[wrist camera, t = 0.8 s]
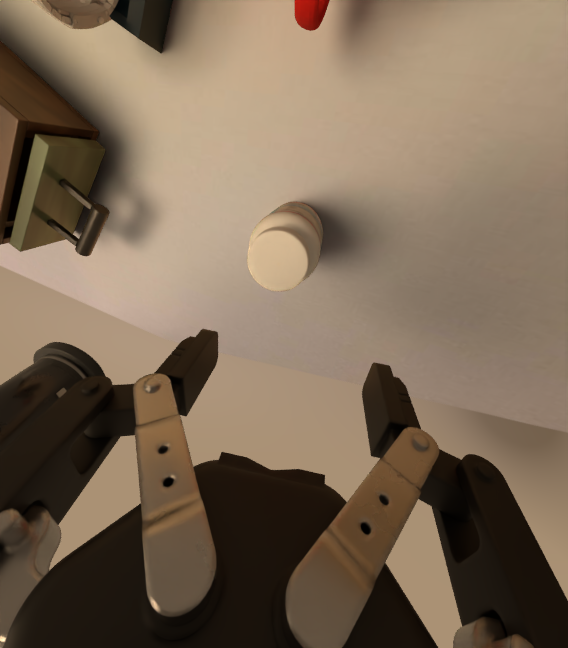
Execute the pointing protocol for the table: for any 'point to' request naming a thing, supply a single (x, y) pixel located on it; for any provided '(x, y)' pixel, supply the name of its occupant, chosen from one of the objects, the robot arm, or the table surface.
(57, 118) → the cabinet
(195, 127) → the table surface
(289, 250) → the pill bottle
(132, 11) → the watch
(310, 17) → the ceramic cup
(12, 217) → the drawer
